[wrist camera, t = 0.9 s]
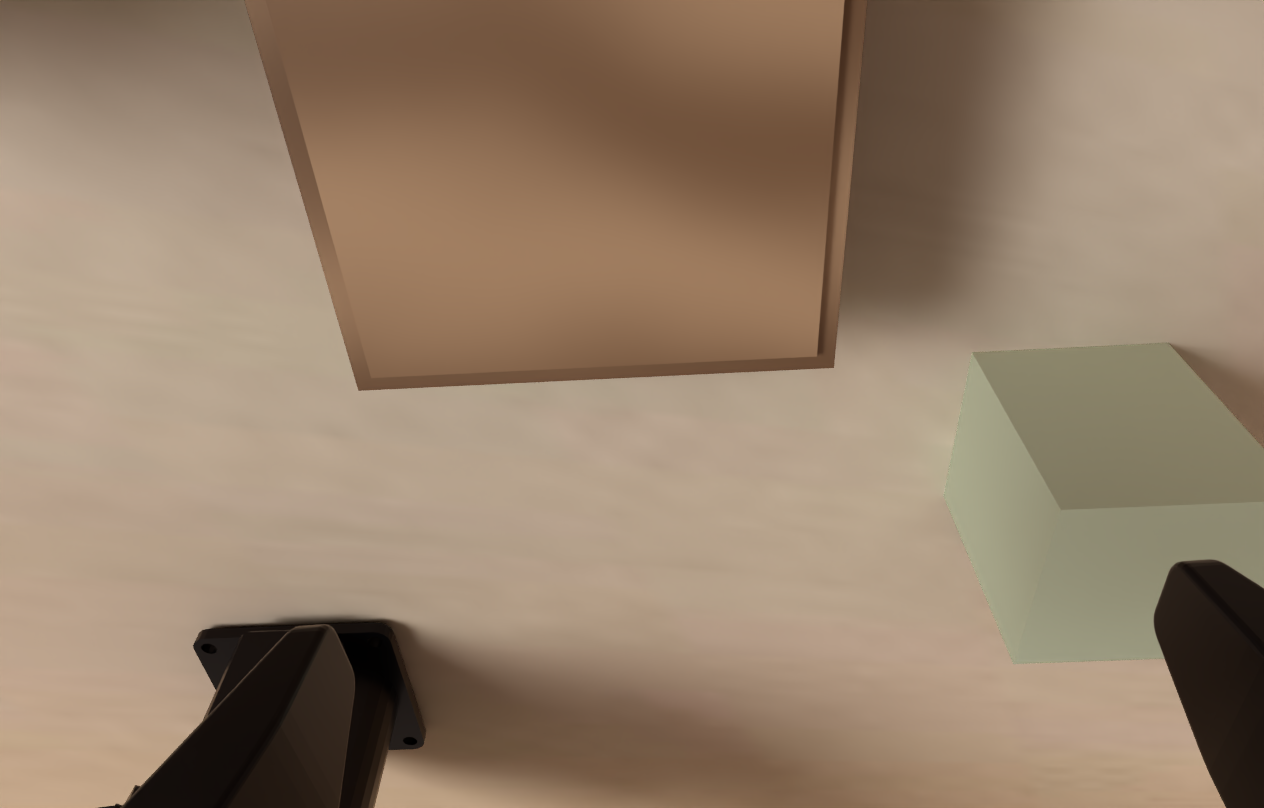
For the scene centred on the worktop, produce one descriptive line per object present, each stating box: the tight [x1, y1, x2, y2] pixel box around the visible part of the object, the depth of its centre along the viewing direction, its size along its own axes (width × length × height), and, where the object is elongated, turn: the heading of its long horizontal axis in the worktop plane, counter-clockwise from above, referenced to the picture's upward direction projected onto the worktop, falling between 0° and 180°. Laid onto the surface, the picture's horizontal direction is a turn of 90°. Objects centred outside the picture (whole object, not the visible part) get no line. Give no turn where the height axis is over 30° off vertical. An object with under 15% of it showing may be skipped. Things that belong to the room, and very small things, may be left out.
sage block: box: [944, 343, 1264, 664], centre depth 22 cm, size 5×5×6 cm
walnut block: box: [244, 0, 867, 391], centre depth 17 cm, size 12×10×4 cm
